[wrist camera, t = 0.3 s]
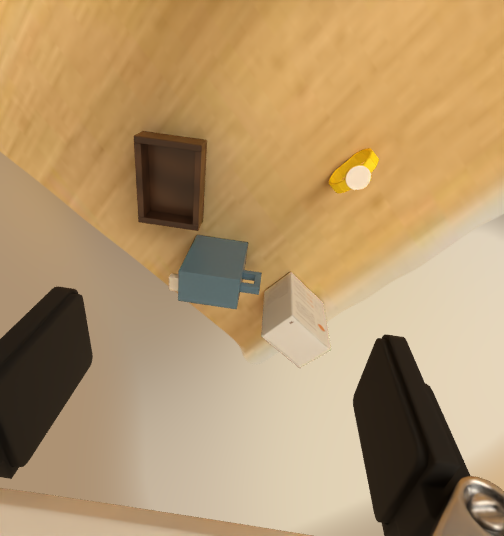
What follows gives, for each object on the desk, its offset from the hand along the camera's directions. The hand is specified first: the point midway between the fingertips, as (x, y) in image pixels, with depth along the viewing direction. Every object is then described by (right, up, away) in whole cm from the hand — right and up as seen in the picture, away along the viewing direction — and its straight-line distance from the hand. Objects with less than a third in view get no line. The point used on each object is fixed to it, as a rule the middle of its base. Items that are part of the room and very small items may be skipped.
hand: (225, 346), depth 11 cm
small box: (+7, -2, +43) cm, 44 cm away
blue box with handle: (-4, +5, +40) cm, 41 cm away
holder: (-9, +14, +35) cm, 39 cm away
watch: (+13, +15, +32) cm, 38 cm away
